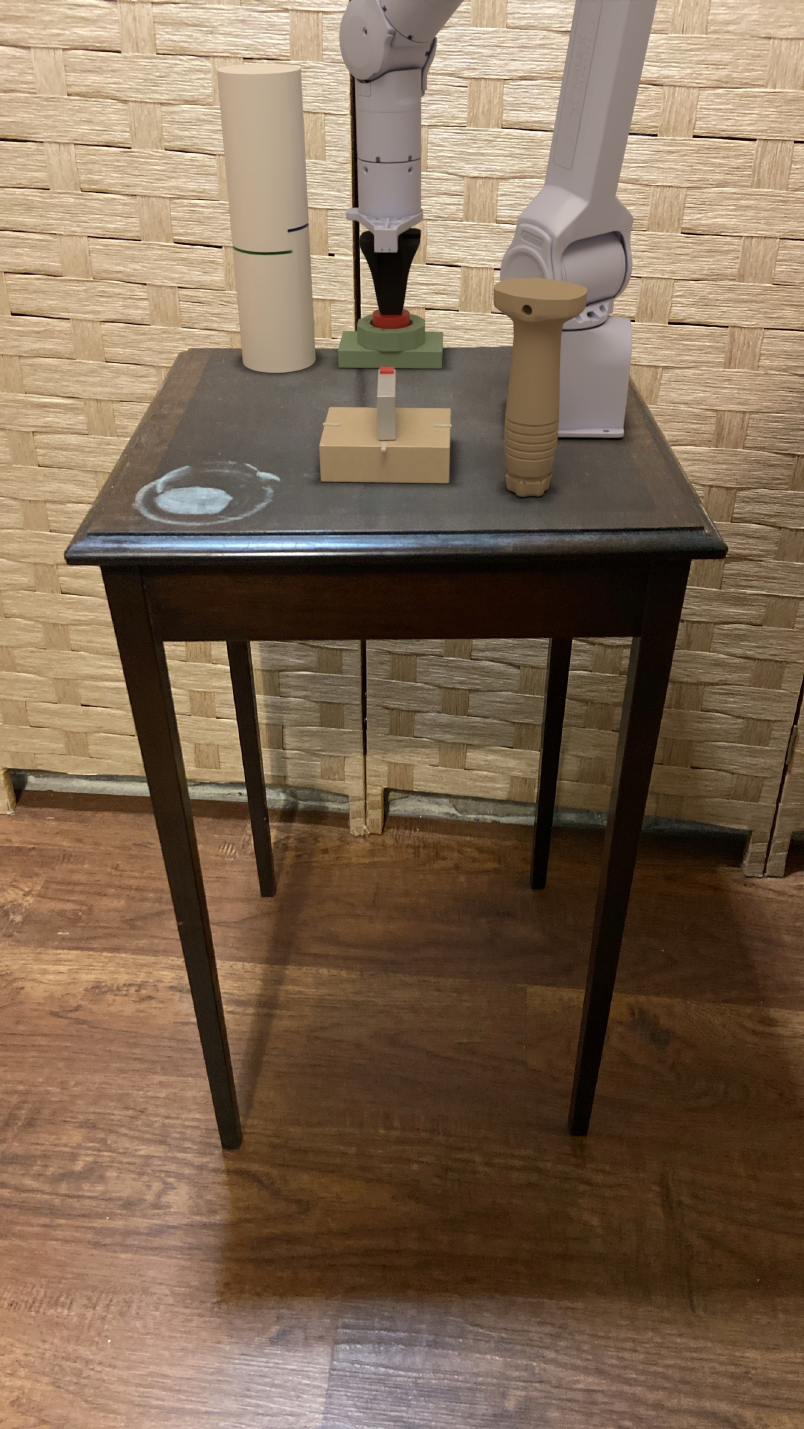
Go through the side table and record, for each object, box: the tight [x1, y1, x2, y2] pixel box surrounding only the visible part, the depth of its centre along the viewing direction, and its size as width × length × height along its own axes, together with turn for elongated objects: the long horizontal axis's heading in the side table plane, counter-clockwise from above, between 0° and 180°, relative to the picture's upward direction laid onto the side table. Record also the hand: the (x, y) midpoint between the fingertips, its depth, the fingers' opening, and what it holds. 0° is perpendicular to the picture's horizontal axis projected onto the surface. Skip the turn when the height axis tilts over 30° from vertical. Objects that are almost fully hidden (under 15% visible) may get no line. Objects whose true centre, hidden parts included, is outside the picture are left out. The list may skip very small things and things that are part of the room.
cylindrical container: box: [216, 63, 317, 374], centre depth 103 cm, size 7×7×25 cm
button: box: [371, 308, 411, 329], centre depth 109 cm, size 4×4×2 cm
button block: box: [337, 313, 444, 370], centre depth 110 cm, size 10×6×4 cm, turn 87°
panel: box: [318, 406, 453, 484], centre depth 90 cm, size 10×10×3 cm
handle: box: [492, 278, 587, 498], centre depth 82 cm, size 5×6×15 cm
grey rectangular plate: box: [376, 367, 397, 440], centre depth 88 cm, size 6×1×4 cm, turn 0°
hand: (391, 312), depth 108 cm, fingers closed
